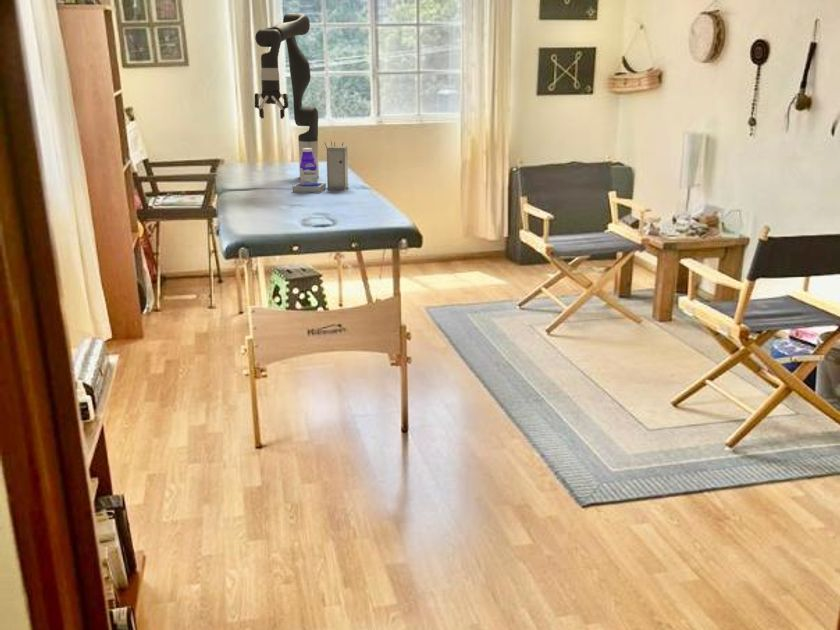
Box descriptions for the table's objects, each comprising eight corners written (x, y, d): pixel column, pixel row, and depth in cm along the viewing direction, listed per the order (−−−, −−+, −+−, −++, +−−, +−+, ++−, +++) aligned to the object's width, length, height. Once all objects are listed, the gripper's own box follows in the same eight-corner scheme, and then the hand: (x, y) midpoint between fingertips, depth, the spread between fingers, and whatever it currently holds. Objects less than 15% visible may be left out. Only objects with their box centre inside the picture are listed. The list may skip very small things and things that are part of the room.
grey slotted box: (330, 187, 361) (329, 146, 356) (348, 187, 360) (347, 146, 355) (327, 189, 354) (326, 147, 349) (345, 189, 353) (344, 148, 348)
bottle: (302, 190, 347) (301, 149, 342) (299, 188, 352) (297, 148, 347) (319, 189, 350) (317, 148, 345) (314, 187, 355) (313, 147, 350)
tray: (299, 188, 357) (298, 182, 356) (325, 188, 356) (325, 183, 355) (292, 192, 346) (292, 186, 345) (319, 192, 345) (319, 187, 344)
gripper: (289, 79, 344) (290, 118, 349) (256, 78, 346) (258, 117, 350) (284, 79, 337) (286, 119, 342) (251, 79, 338) (253, 118, 343)
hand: (272, 118), depth 346 cm, fingers open, 8 cm apart
